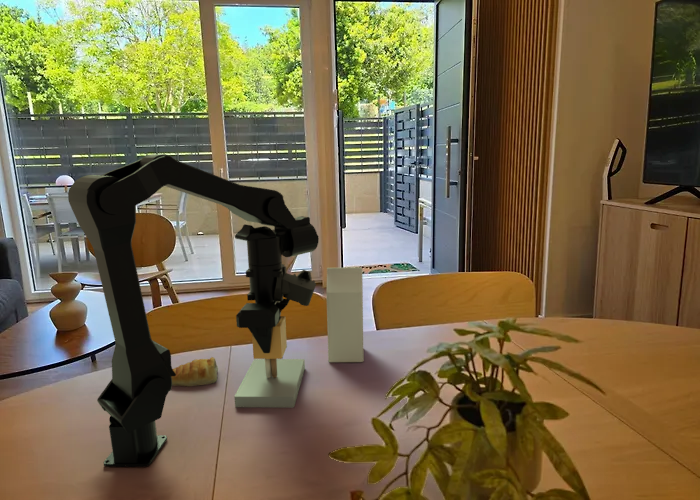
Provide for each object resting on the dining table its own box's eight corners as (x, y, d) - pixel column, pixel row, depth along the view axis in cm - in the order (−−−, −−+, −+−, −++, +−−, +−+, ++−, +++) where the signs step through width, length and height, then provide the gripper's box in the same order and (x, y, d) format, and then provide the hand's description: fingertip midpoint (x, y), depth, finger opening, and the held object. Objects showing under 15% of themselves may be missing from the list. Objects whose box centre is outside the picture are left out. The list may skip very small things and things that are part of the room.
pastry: (165, 392, 83) (163, 373, 83) (168, 376, 90) (166, 357, 89) (218, 384, 86) (217, 365, 85) (218, 368, 92) (216, 350, 92)
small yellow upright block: (281, 358, 80) (280, 326, 79) (253, 358, 81) (251, 326, 79) (286, 346, 85) (285, 316, 84) (260, 346, 86) (258, 316, 84)
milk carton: (363, 362, 93) (362, 272, 89) (328, 363, 93) (325, 272, 89) (363, 347, 100) (362, 263, 96) (330, 348, 100) (328, 263, 96)
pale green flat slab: (293, 407, 78) (292, 371, 76) (235, 407, 78) (232, 371, 76) (304, 368, 91) (303, 337, 90) (254, 368, 92) (252, 337, 90)
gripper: (304, 276, 70) (308, 371, 73) (317, 250, 88) (319, 326, 92) (232, 277, 70) (239, 370, 74) (259, 250, 89) (264, 326, 92)
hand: (270, 346), depth 83 cm, fingers closed on small yellow upright block, 5 cm apart
